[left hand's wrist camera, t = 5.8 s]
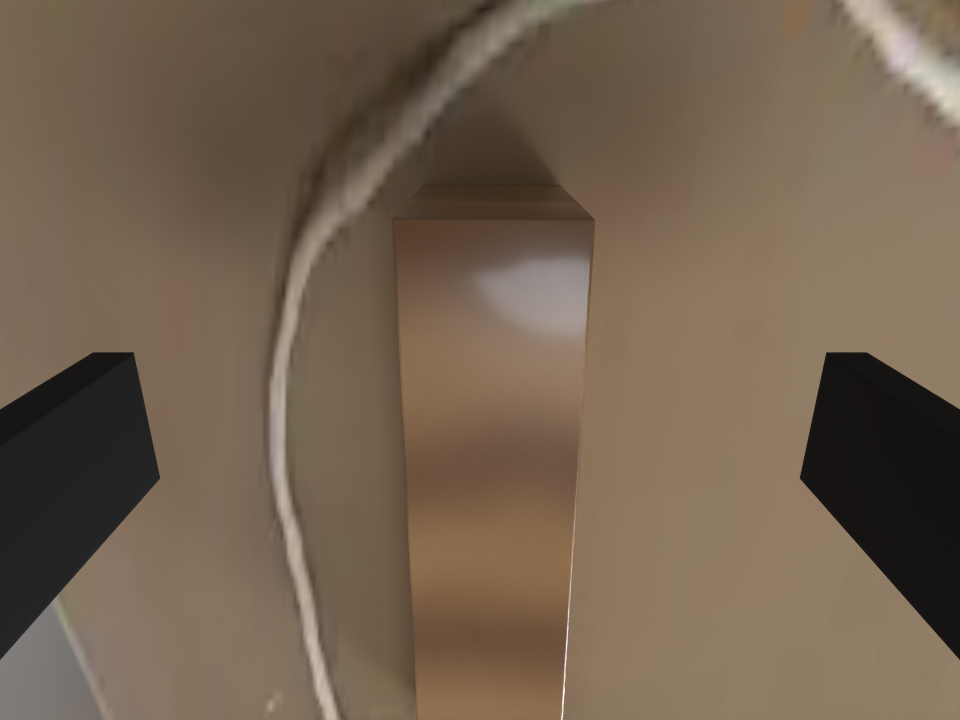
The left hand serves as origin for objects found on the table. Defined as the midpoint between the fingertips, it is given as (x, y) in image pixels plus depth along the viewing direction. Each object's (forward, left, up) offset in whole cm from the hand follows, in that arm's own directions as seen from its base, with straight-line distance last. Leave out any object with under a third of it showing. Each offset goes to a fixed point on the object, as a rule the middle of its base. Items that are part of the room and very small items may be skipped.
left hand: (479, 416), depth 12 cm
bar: (+10, 0, -13) cm, 16 cm away
